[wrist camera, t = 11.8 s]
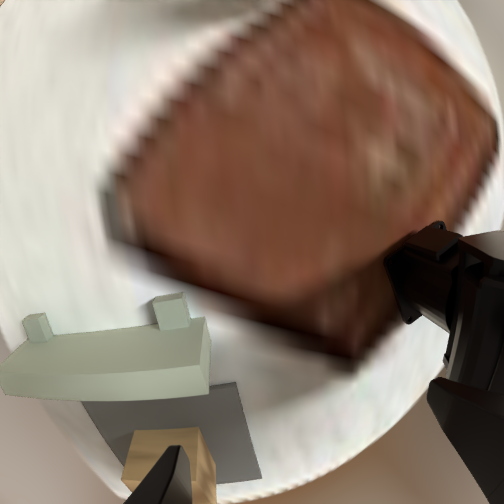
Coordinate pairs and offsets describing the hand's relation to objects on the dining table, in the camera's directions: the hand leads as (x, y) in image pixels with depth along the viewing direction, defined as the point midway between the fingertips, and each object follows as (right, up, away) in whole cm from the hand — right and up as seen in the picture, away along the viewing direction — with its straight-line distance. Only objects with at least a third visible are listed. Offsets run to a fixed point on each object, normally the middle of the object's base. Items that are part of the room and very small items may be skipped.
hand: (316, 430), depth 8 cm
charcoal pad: (-9, -12, +14) cm, 21 cm away
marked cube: (-9, -12, +13) cm, 20 cm away
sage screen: (-13, -1, +11) cm, 17 cm away
